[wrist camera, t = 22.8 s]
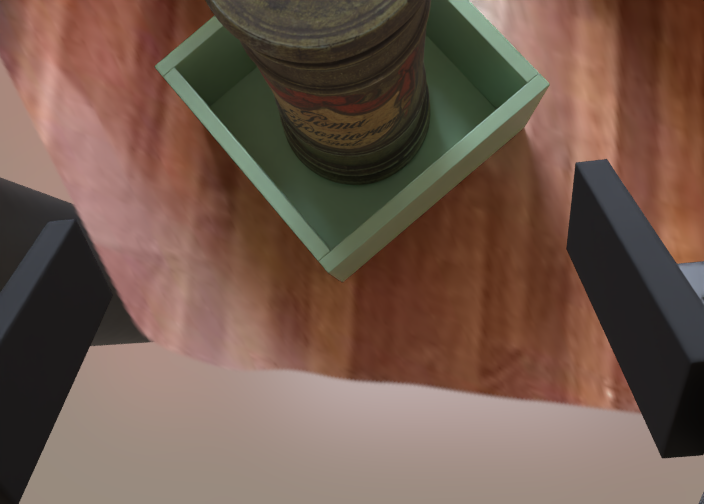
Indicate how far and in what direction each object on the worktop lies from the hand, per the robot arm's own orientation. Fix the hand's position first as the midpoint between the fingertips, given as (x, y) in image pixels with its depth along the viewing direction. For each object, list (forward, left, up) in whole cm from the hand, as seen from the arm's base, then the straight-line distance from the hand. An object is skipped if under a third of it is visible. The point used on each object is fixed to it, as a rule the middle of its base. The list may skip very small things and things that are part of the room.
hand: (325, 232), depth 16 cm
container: (-8, +6, -20) cm, 23 cm away
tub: (-8, +6, -21) cm, 23 cm away
